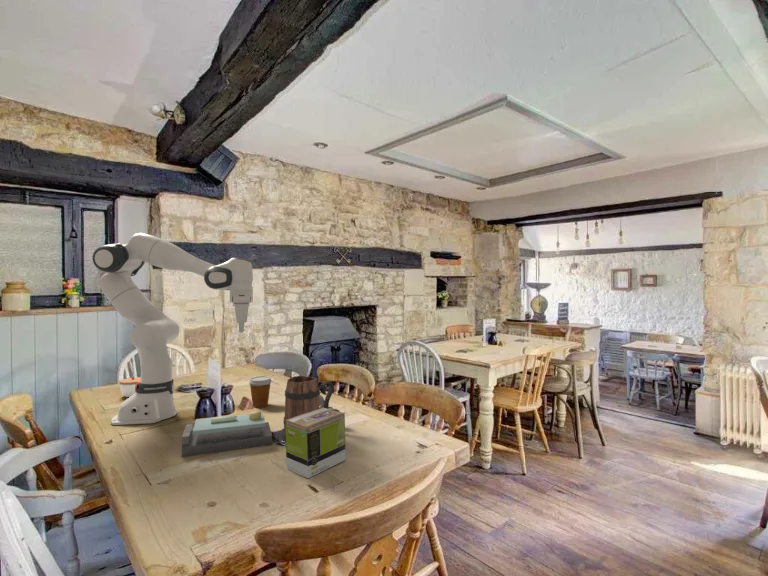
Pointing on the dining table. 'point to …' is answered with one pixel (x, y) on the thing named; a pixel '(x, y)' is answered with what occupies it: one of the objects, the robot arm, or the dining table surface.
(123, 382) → the lidded jar
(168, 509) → the dining table surface
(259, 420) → the plate
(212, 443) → the base
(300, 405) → the tankard
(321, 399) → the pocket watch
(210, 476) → the dining table surface
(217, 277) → the robot arm
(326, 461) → the tea box
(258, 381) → the disposable coffee cup
